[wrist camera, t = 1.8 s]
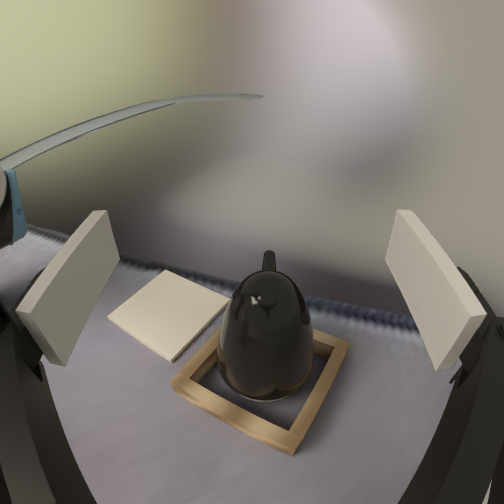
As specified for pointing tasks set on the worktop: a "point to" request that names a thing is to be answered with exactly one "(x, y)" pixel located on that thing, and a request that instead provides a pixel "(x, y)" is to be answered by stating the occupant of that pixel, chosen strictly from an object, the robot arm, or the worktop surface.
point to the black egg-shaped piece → (266, 336)
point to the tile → (168, 313)
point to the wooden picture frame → (246, 421)
